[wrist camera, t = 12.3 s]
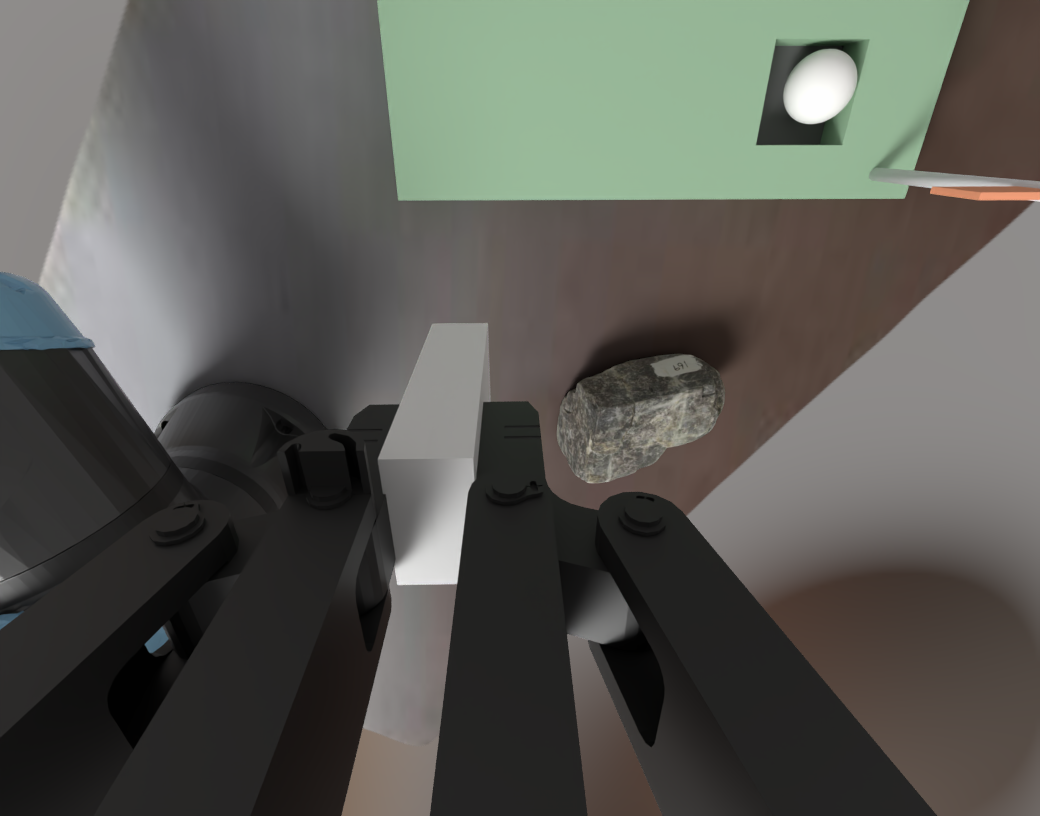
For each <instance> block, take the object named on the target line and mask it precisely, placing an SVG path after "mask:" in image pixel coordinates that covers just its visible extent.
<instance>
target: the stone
mask: <svg viewBox="0 0 1040 816" xmlns="http://www.w3.org/2000/svg"><path fill="white" fill-rule="evenodd" d="M724 399H725V387H724V385H723V382H722V380H721V378H720V374H719V372H718V371H717V370H716V369H715V368H713V367H711V366H710V365H709V364H707V363H706V362H704V361H703V360H701V359H699V358H697V357H695V356H693V355H688V354H671V355H659V356H654V357H649V358H643V359H636V360H631V361H627V362H625V363H623V364H619V365H616V366H613V367H612V368H610V369H607V370H605V371H604V372H603V373H600V374H597V375H595V376H593V377H588V378H585V379H583V380H582V381H580V382H579V383H577V388H575V389H573V390H571V391H569V392H568V394H567V396H565V397H564V399H563V401H562V404H561V407H560V414H559V418H558V426H557V440H558V444H559V446H560V448H561V450H562V452H563V454H564V455H565V456H566V458H567V461H568V464H569V465H570V468H571V470H572V471H573V472H574V474H575V475H576V476H578V477H580V478H581V479H582V480H584V481H586V482H588V483H602V482H608V481H612V480H614V479H617V478H619V477H624V476H627V475H630V474H632V473H635V472H636V471H637V470H638V469H640V468H643V467H646V466H649V465H651V464H653V463H655V462H656V461H657V460H658V459H659V457H660V455H662V454H663V452H664V451H665V450H666V448H667V447H675V446H679V445H683V444H686V443H689V442H692V441H694V440H697V439H699V438H701V437H702V436H704V435H705V434H707V433H709V432H710V431H711V430H712V428H713V427H714V425H715V423H716V420H717V417H718V416H719V414H720V413H721V411H722V409H723V405H724Z"/></svg>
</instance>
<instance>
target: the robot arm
mask: <svg viewBox="0 0 1040 816" xmlns="http://www.w3.org/2000/svg"><path fill="white" fill-rule="evenodd" d="M94 347H95V345H94V343H93V342H92V340H90V339H88V338H85V337H83V335H82V334H81V333H80V332H79V330H78V329H77V328H76V327H75V325H74V324H73V323H72V322H71V320H70V319H69V318H68V317H67V316H66V314H65V313H64V312H63V311H62V309H61V308H60V307H59V306H58V304H57V303H56V302H55V301H54V299H53V298H52V297H51V296H50V294H49V293H48V292H47V291H45V290H44V289H43V288H42V287H41V286H39V285H38V284H37V283H35V282H33V281H31V280H29V279H27V278H25V277H22V276H19V275H15V274H11V273H5V272H0V816H341V815H342V811H343V806H344V802H345V798H346V794H347V790H348V786H349V781H350V778H351V774H352V769H353V765H354V761H355V757H356V753H357V749H358V745H359V741H360V736H361V732H362V728H363V724H364V720H365V716H366V712H367V708H368V704H369V700H370V695H371V691H372V687H373V683H374V679H375V675H376V671H377V667H378V663H379V658H380V654H381V650H382V646H383V642H384V638H385V634H386V630H387V626H388V621H389V617H390V613H391V594H390V588H389V582H390V579H391V575H392V571H393V567H394V566H395V573H396V579H397V585H422V584H457V590H456V599H455V607H454V616H453V624H452V633H451V641H450V650H449V658H448V667H447V675H446V684H445V692H444V701H443V709H442V718H441V726H440V735H439V744H438V752H437V760H436V769H435V777H434V786H433V794H432V803H431V812H430V816H587V808H586V799H585V790H584V781H583V772H582V764H581V755H580V746H579V738H578V729H577V720H576V711H575V702H574V694H573V685H572V676H571V668H570V658H569V650H568V641H567V634H569V635H573V636H577V637H580V638H583V639H587V640H588V642H589V647H590V650H591V652H592V654H593V656H594V659H595V661H596V663H597V666H598V668H599V670H600V673H601V675H602V677H603V679H604V682H605V684H606V686H607V688H608V691H609V693H610V695H611V698H612V700H613V702H614V705H615V707H616V709H617V712H618V714H619V716H620V719H621V721H622V723H623V725H624V728H625V730H626V732H627V734H628V737H629V739H630V742H631V744H632V746H633V749H634V751H635V753H636V755H637V758H638V760H639V762H640V764H641V767H642V769H643V771H644V774H645V776H646V778H647V781H648V783H649V785H650V788H651V790H652V792H653V794H654V797H655V799H656V802H657V804H658V806H659V808H660V811H661V813H662V815H663V816H937V815H936V814H935V813H934V811H933V810H932V809H931V808H930V807H929V805H928V804H927V803H926V802H925V801H924V799H923V798H922V797H921V796H920V795H919V794H918V792H917V791H916V790H915V789H914V788H913V786H912V785H911V784H910V783H909V782H908V780H907V779H906V778H905V777H904V776H903V774H902V773H901V772H900V771H899V770H898V768H897V767H896V766H895V765H894V764H893V762H891V760H890V759H889V758H888V757H887V755H886V754H885V753H884V752H883V751H882V749H881V748H880V747H879V746H878V745H877V743H876V742H875V741H874V740H873V739H872V737H871V736H870V735H869V734H868V733H867V731H866V730H865V729H864V728H863V727H862V725H861V724H860V723H859V722H858V721H857V720H856V718H855V717H854V716H853V715H852V714H851V712H850V711H849V710H848V709H847V708H846V706H845V705H844V704H843V703H842V702H841V701H840V699H839V698H838V697H837V696H836V694H835V693H834V692H833V691H832V690H831V688H830V687H829V686H828V685H827V684H826V683H825V681H824V680H823V679H822V678H821V677H820V676H819V674H818V673H817V672H816V671H815V669H814V668H813V667H812V666H811V665H810V664H809V662H808V661H807V660H806V659H805V658H804V656H803V655H802V654H801V653H800V652H799V650H798V649H797V648H796V647H795V646H794V644H793V643H792V642H791V641H790V640H789V638H787V636H786V635H785V634H784V632H783V631H782V630H781V629H780V628H779V626H778V625H777V624H776V623H775V622H774V620H773V619H772V618H771V617H770V616H769V615H768V613H767V612H766V611H765V610H764V609H763V607H762V606H761V605H760V604H759V603H758V602H757V600H756V599H755V598H754V597H753V595H752V594H751V593H750V592H749V591H748V589H747V588H746V587H745V586H744V585H743V584H742V582H741V581H740V580H739V579H738V578H737V576H736V575H735V574H734V573H733V572H732V570H731V569H730V568H729V567H728V566H727V564H726V563H725V562H724V561H723V560H722V558H721V557H720V556H719V555H718V554H717V552H716V551H715V550H714V549H713V548H712V546H711V545H710V544H709V543H708V542H707V540H706V539H705V538H704V537H703V536H702V535H701V533H700V532H699V531H698V530H697V529H696V527H695V526H694V525H693V524H692V523H691V522H690V520H689V519H688V518H687V517H686V515H685V514H684V513H683V512H682V511H681V510H680V509H679V508H677V507H676V506H675V505H674V504H673V503H672V502H670V501H668V500H666V499H663V498H661V497H659V496H657V495H653V494H648V493H643V492H623V493H620V494H617V495H614V496H611V497H609V498H608V499H607V500H606V501H604V502H603V503H602V504H601V505H600V508H599V510H594V509H589V508H584V507H580V506H577V505H574V504H570V503H568V502H566V501H564V500H562V499H560V498H559V497H558V496H557V495H555V494H554V493H553V492H552V491H551V490H550V488H549V487H548V485H547V482H546V479H545V470H544V461H543V451H542V442H541V433H540V424H539V415H538V412H537V411H536V410H535V409H534V407H533V406H532V405H531V404H530V403H529V402H528V401H527V402H490V371H489V340H488V323H445V324H432V326H431V328H430V331H429V333H428V336H427V338H426V341H425V343H424V346H423V348H422V351H421V353H420V356H419V358H418V361H417V363H416V366H415V368H414V370H413V373H412V375H411V378H410V380H409V383H408V385H407V388H406V390H405V393H404V395H403V398H402V400H401V403H400V405H369V406H367V407H366V408H365V409H363V410H362V411H361V412H359V413H358V414H357V415H355V416H354V417H353V419H352V421H351V423H350V425H349V427H348V428H347V430H337V429H330V430H326V429H325V427H324V426H323V425H322V423H321V422H320V421H319V420H318V419H317V418H316V417H315V416H314V415H313V414H312V413H311V412H310V411H309V410H307V409H306V408H305V407H304V406H302V405H301V404H300V403H298V402H296V401H295V400H293V399H292V398H290V397H288V396H286V395H284V394H282V393H280V392H277V391H275V390H272V389H269V388H266V387H263V386H259V385H254V384H248V383H220V384H214V385H210V386H206V387H204V388H201V389H199V390H197V391H195V392H193V393H191V394H190V395H188V396H187V397H185V398H184V399H183V400H182V401H180V402H179V403H178V404H177V405H176V406H174V407H173V408H172V409H171V410H170V411H169V412H168V413H167V414H166V415H165V416H164V417H163V419H162V420H161V421H160V423H159V425H158V426H157V429H156V431H155V433H153V432H152V431H151V429H150V428H149V426H148V425H147V424H146V422H145V421H144V419H143V418H142V417H141V415H140V414H139V413H138V411H137V410H136V408H135V407H134V406H133V404H132V403H131V401H130V400H129V399H128V397H127V396H126V395H125V393H124V392H123V390H122V389H121V388H120V386H119V385H118V383H117V382H116V381H115V379H114V378H113V377H112V375H111V374H110V372H109V371H108V370H107V368H106V367H105V365H104V364H103V363H102V361H101V360H100V359H99V357H98V356H97V354H96V353H95V352H94V350H93V349H92V348H94Z"/></svg>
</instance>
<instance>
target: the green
mask: <svg viewBox="0 0 1040 816" xmlns="http://www.w3.org/2000/svg"><path fill="white" fill-rule="evenodd" d="M968 3H969V0H377V4H378V14H379V23H380V33H381V42H382V52H383V61H384V71H385V80H386V90H387V99H388V108H389V118H390V127H391V137H392V146H393V156H394V165H395V175H396V184H397V194H398V200H646V199H902V198H905V196H906V193H907V190H908V187H909V185H911V186H919V187H927V188H932V189H931V191H930V194H937V195H944V196H951V197H959V198H966V199H973V200H1032V201H1040V181H1028V180H1016V179H1005V178H993V177H982V176H970V175H959V174H947V173H935V172H924V171H914V168H915V165H916V162H917V159H918V156H919V153H920V150H921V147H922V144H923V141H924V138H925V135H926V132H927V129H928V125H929V122H930V119H931V116H932V113H933V110H934V107H935V104H936V101H937V98H938V95H939V92H940V89H941V86H942V83H943V80H944V77H945V73H946V70H947V67H948V64H949V61H950V58H951V55H952V52H953V49H954V46H955V43H956V40H957V37H958V34H959V31H960V28H961V25H962V21H963V18H964V15H965V12H966V9H967V6H968ZM822 49H838V50H841V51H843V52H845V53H847V54H848V55H849V56H850V57H851V58H852V60H853V61H854V63H855V65H856V68H857V84H856V88H855V91H854V94H853V96H852V98H851V99H850V101H849V102H848V104H847V105H846V106H845V107H844V108H843V109H842V110H841V111H840V112H839V113H838V114H837V115H836V116H834V117H832V118H831V119H829V120H827V121H824V122H822V123H817V124H804V123H800V122H798V121H796V120H794V119H793V118H792V117H791V116H790V115H789V114H788V112H787V111H786V108H785V105H784V100H783V92H784V87H785V84H786V81H787V79H788V77H789V75H790V73H791V71H792V70H793V69H794V67H795V66H796V65H797V64H798V63H799V62H800V61H801V60H802V59H804V58H805V57H806V56H808V55H810V54H812V53H814V52H816V51H819V50H822Z"/></svg>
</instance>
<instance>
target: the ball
mask: <svg viewBox="0 0 1040 816" xmlns="http://www.w3.org/2000/svg"><path fill="white" fill-rule="evenodd" d="M856 84H857V68H856V65H855V63H854V61H853V60H852V58H851V57H850V56H849V55H848V54H847V53H845V52H843V51H841V50H838V49H822V50H819V51H816V52H814V53H812V54H810V55H808V56H806V57H805V58H804V59H802V60H801V61H800V62H799V63H798V64H797V65H796V66H795V67H794V69H793V70H792V71H791V73H790V75H789V77H788V79H787V81H786V84H785V87H784V92H783V100H784V105H785V108H786V111H787V112H788V114H789V115H790V116H791V117H792V118H793V119H794V120H796V121H798V122H800V123H804V124H817V123H822V122H824V121H827V120H829V119H831V118H832V117H834V116H836V115H837V114H838V113H839V112H840V111H841V110H842V109H843V108H844V107H845V106H846V105H847V104H848V102H849V101H850V99H851V98H852V96H853V94H854V91H855V88H856Z"/></svg>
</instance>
